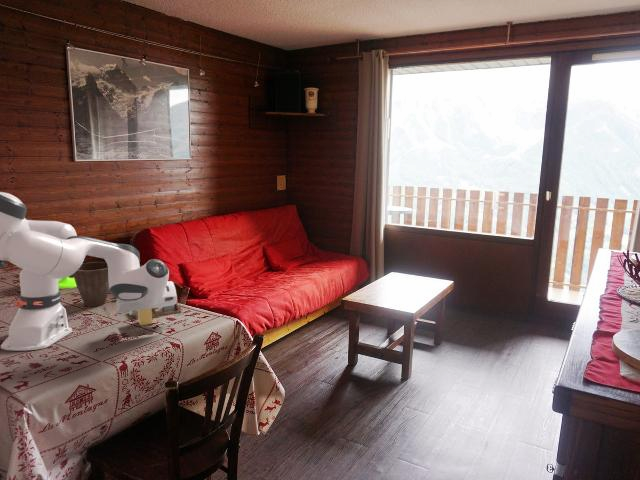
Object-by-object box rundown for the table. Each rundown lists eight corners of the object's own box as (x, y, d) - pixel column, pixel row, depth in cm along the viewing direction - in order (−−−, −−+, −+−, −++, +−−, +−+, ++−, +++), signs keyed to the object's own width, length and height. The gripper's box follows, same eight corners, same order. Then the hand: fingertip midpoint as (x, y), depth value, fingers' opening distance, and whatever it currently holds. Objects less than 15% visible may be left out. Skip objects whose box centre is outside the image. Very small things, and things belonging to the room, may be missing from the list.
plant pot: (67, 309, 185) (64, 270, 182) (84, 297, 200) (82, 261, 197) (105, 310, 186) (103, 271, 183) (120, 298, 201) (118, 262, 198)
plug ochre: (152, 326, 171) (151, 300, 169) (140, 328, 169) (139, 301, 167) (149, 323, 174) (148, 297, 172) (138, 325, 172) (137, 298, 170)
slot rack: (181, 315, 183) (181, 305, 182) (137, 322, 174) (136, 312, 173) (174, 308, 190) (174, 299, 190) (131, 315, 182) (131, 305, 181)
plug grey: (174, 311, 184) (173, 286, 182) (164, 313, 182) (163, 288, 180) (171, 308, 187) (170, 284, 185) (161, 310, 185) (160, 285, 183)
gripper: (119, 304, 154) (115, 323, 164) (181, 296, 165) (174, 314, 175) (115, 288, 157) (112, 307, 167) (177, 281, 168) (170, 299, 178)
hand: (144, 311), depth 171 cm, fingers open, 7 cm apart
